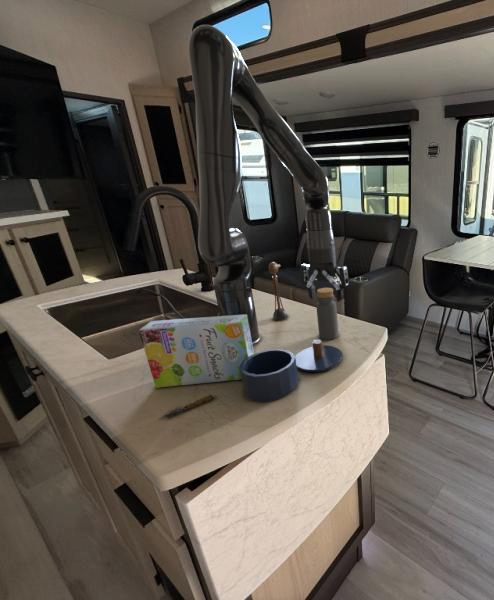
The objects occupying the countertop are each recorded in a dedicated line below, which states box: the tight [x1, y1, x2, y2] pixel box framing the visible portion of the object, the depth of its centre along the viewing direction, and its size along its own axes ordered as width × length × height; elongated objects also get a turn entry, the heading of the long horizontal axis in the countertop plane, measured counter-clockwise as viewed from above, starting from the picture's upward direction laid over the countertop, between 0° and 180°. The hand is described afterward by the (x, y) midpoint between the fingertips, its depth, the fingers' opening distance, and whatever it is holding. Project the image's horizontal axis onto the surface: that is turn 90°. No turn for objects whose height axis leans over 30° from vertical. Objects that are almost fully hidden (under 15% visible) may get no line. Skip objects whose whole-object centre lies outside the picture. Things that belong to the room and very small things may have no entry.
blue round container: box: [240, 348, 299, 403], centre depth 73 cm, size 12×12×6 cm
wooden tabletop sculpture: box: [268, 261, 289, 322], centre depth 109 cm, size 6×5×20 cm
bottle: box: [315, 287, 339, 341], centre depth 96 cm, size 6×6×15 cm
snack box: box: [138, 314, 255, 389], centre depth 75 cm, size 21×6×15 cm, turn 100°
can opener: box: [163, 394, 214, 419], centre depth 66 cm, size 9×2×1 cm, turn 130°
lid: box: [294, 339, 344, 373], centre depth 84 cm, size 13×13×6 cm
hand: (326, 299), depth 94 cm, fingers open, 8 cm apart
